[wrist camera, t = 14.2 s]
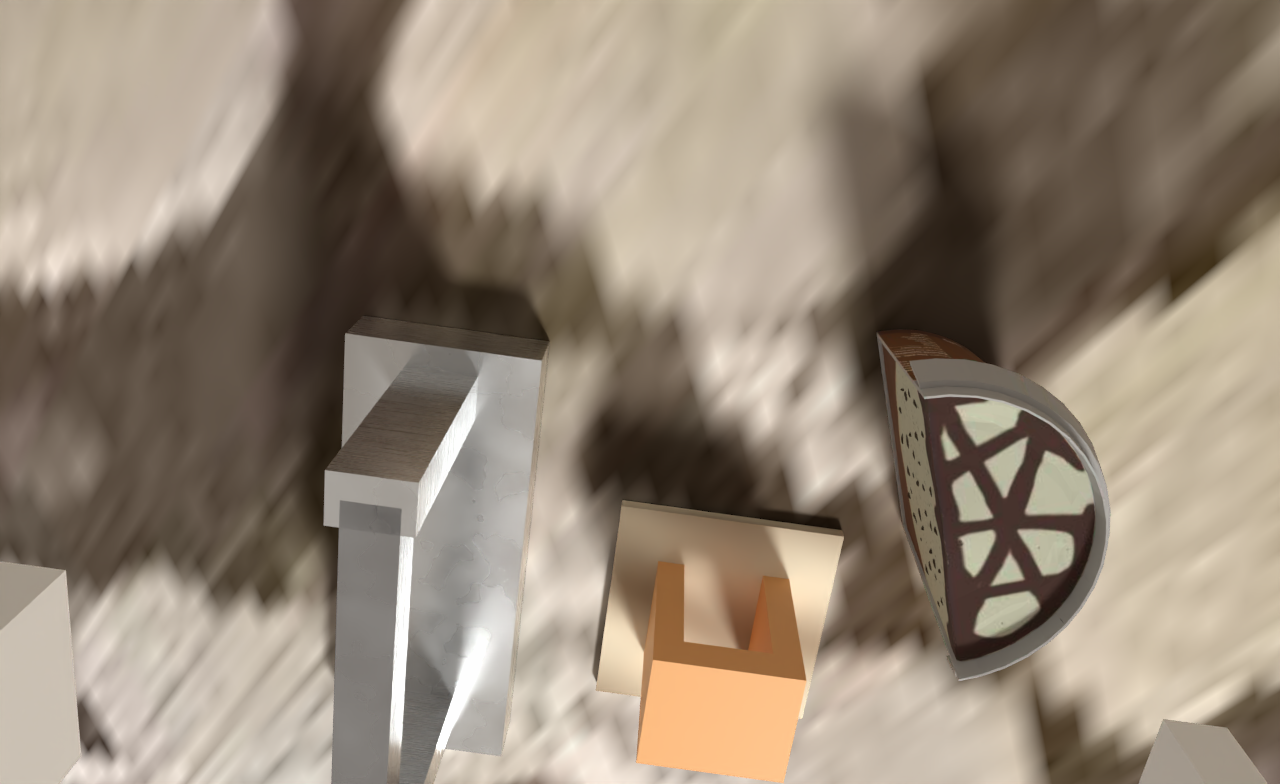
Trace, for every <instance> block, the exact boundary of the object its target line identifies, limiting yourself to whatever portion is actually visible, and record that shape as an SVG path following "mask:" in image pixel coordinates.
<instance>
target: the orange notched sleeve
mask: <svg viewBox="0 0 1280 784" xmlns="http://www.w3.org/2000/svg"><path fill="white" fill-rule="evenodd" d="M806 681H807V680H806V674H805V669H804V663H803V657H802V651H801V645H800V639H799V634H798V628H797V622H796V616H795V610H794V604H793V599H792V593H791V587H790V581H789V579H785V578H777V577H770V576H763V578H762V583H761V588H760V593H759V598H758V603H757V608H756V613H755V618H754V623H753V628H752V633H751V638H750V643H749V648H748V650H742V649H735V648H728V647H720V646H713V645H706V644H698V643H691V642H684V565H683V564H676V563H668V562H661V561H658V566H657V573H656V579H655V585H654V592H653V598H652V604H651V611H650V617H649V623H648V630H647V636H646V642H645V649H644V658H643V672H642V687H641V701H640V716H639V730H638V745H637V759H636V763H641V764H648V765H656V766H663V767H670V768H678V769H685V770H692V771H700V772H707V773H714V774H722V775H729V776H736V777H744V778H751V779H758V780H766V781H773V782H780V783H783V782H784V778H785V774H786V769H787V765H788V760H789V756H790V752H791V747H792V743H793V738H794V734H795V730H796V725H797V721H798V717H799V712H800V708H801V703H802V699H803V695H804V690H805V686H806Z"/></svg>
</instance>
